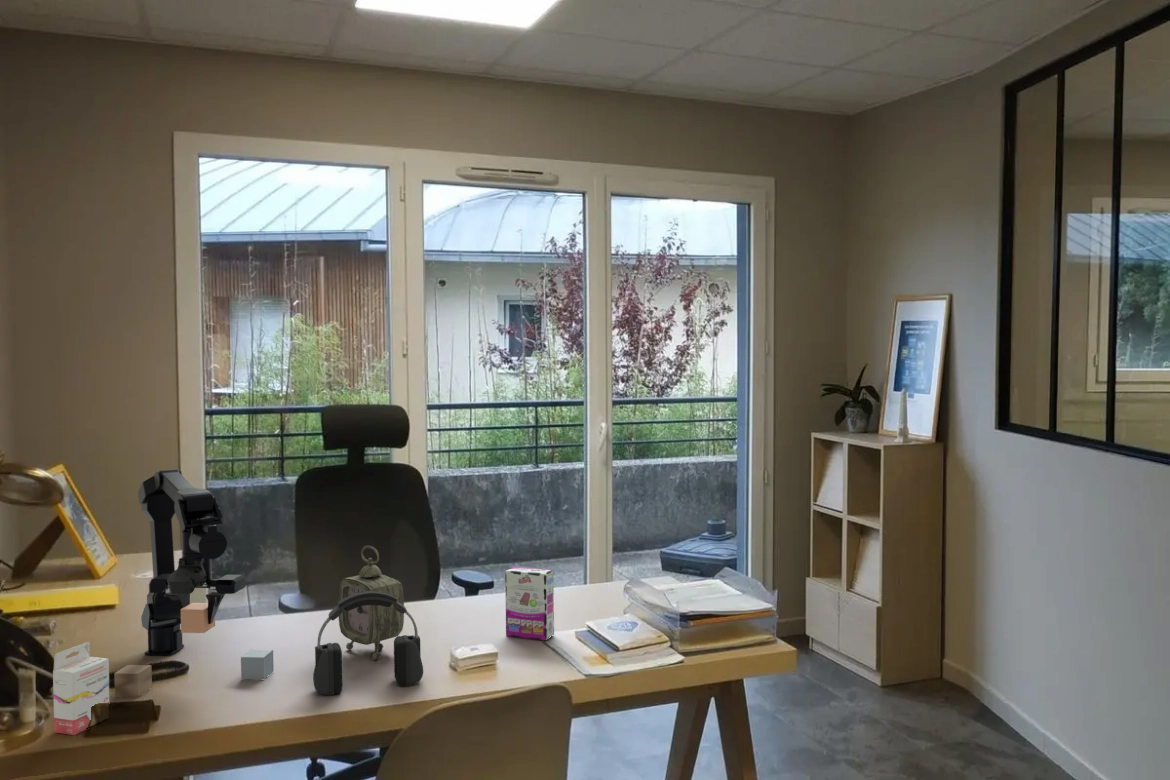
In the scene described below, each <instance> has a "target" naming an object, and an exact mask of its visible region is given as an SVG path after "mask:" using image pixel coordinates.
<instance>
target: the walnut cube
mask: <svg viewBox="0 0 1170 780" xmlns="http://www.w3.org/2000/svg"><path fill="white" fill-rule="evenodd" d="M152 670H153V669H152V664H151V665H149V664H126V665H125V666H124V667H122V668H121V669H119V670H117V671H116V672H114V676H113V677H114V697H115V698H133V697H139V696H140V697H142V696H143V695H145V694H147V693H148V692H149V691H150V690H149V689H150V688H152V689H153V680H152V679H153V677H152V672H153V671H152ZM148 690H149V691H148ZM147 691H148V692H147ZM144 693H145V694H144ZM142 694H143V695H142ZM141 695H142V696H141ZM123 696H124V697H123ZM140 697H139V698H140Z"/></svg>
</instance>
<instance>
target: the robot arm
mask: <svg viewBox="0 0 1170 780" xmlns="http://www.w3.org/2000/svg"><path fill="white" fill-rule="evenodd" d="M137 499H138V502H139V504H140V506H141V508H140V509H141V512H143V514H144V515H145V516H146V518H147V520H149V524H150V525H149V526H150V528H149V529H150V543H151V545H150V546H151V557H152V558H151V559H152V562H151V563H152V577H153V578H151V579H150V580H149V583H148V594H147V595H146V604H145V605H144V606H145V607H144V608H143V611H142V613H141V618H140V621H141V626H142V627H143V629H145V630H146V631H147V650H145V652H144V655H147V656H149V655H150V656H171V655H174V654H175V653H177V652H178V651H180V650H181V649H183V648H184V647H185V644H183V633H181V609H182V608H184V607H186V606H187V605H189V604H191V603H190V602H191V600H190V598H191V597H190V596H191V594H192V593H193V592H194V591H195V589H210V592H209V593H207V594H205V597H206V599H207V603H208V624H211V623H212V622H213V620H214V618H215V619H216V615H217V613H218V609H219V608H220V606H221V603H222V601H223V599H224V597H225V595H231V594H232V595H234V594H236V593H237V592H239V591H241V590H242V589H244V588H246V579H245V577H244V576H243V575H242V574H224V575H223V576H222V577H220V578H214V577H215V571H212V570H213V569H212V560H215V559H217V558H219V557H221V556H223V554H225V551H226V550H227V547H228V540H227V537H226V536H225V535H224V534H223V533H222V532H221V531H218V526H219V525H222V523H223V522H222V519H223V514H222V511H221V508H220V505H219V503H218V501H217V499H216V496H214V495H213V493H212V492H211V491H210V490H207V489H205V488H198V487H197V488H196V487H195V486H194V485H193V484H192V483H191V482H189V481H188V480H187V478H185V476H184V475H182V471H181V469H177V468H171V469H170V468H169V469H167V468H166V469H159V470H158V471H156V472H155V473H154V475H153V476H150V477H149V478H147V479H146V480H144V481H143V482H142V483H141V485H140V487H139V489H138V491H137ZM174 515H175V516H176V518H177V520H178V524H179V525H180V528H181V557H180V558H179V559H178V567H177V569H175V568H176V567H175V555H174V554H175V553H174V538H173V534H174V533H173V520H172V519H173V517H174ZM182 647H183V648H182Z"/></svg>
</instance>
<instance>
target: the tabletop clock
mask: <svg viewBox="0 0 1170 780" xmlns="http://www.w3.org/2000/svg"><path fill="white" fill-rule="evenodd" d="M366 549H370V550H372V551H373V552H374V553H375V555H376V560H375V561H373V558H372V557H369V558H367V559H366V558H365V556H364V551H365V550H366ZM360 556H361V558H362V560H363V562H365V563H366V564H367V565H366V564H365V565H364V566H363V567H362V568H360V570H359V572H358V575H353V576H349V577H343V578H342V579H339V584H338V588H337V589H338V591H337V605H339V601H341V600H342V599H344V598H346V597H348V596H350V595H353V594H355V593H359V592H365V591H379V592H384V593H388V594H390V595H393V596H395V597H396V599H397V601H398V602H400V603H401V604H402V605H403V606H405V599H404V598H405V597H404V588H403V584H402V582H400V580H397V579H395V578H392V577H389V576H387V575H386V574H382V571H381V569H380V568H379V567H378V566H377V564H378V562H379V561H380V555H379V551H378V550H377V549H376V547H374V546H372V545H365V546H362V548H361V551H360ZM404 623H405V613H404V614H402V613H400V612H399V611H397V610H396V609H395V607H394V605H393V604H392V605H391V606H390V607H385V606H380V605H366V606H361V607H357V608H354V609H352V610H349V611H346V610H345V609H343V612H342V613H341V614H340V616H339V617H338V624H339V629H340V633H341V634H342V635H343V636H344V637H345V638H346V639H348V640H350V642H347V643H346V646H345V648H346V649H347V651H350V650H352V649H354V643H357V644H360V645H364V646H365V645H367V646H368V645H371V644H372V645H373V644H374V653H372V655H371V657H372V659H373V660H374V661H378V660H379V659H380V656H381V655H380V654H379V653H378V652H379V651H382V650H383V648H384V644H383V643H381V642H382V641H386V640H389V639H393V638H396V637H397V636H400V634H401V633H402V631H403V628H404Z"/></svg>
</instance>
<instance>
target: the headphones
mask: <svg viewBox="0 0 1170 780" xmlns="http://www.w3.org/2000/svg"><path fill="white" fill-rule="evenodd" d="M392 604H393V605H394V607H395V609H396V610H397V611H399V612H400V613H402V614H404V615H406V616H407V617H409V619H410V620H411V622H412V625H413V630H414V635H407V634H405V635H404V634H403V635H398V636H397V637H394V641H393V667H394V668H393V672H394V674H393V675H394V678H395V682H396V683H397V685H398V686H400V687H408V686H409V687H410V686H411V685H415V684H418V683H419V682H420V681H421V680H422V678H423V675H424V665H423V661H422V658H421V655H422V654H421V637H420V636H419V634H418V626H417V624H416V622H415V619H414V618H413V616H412V615H411V614H410V613H409V611H408V610H407V607H405V605H404V606H403V605H402V604H401V603H400V602H398V601H397V599H396V597H395V596H393V595H390V594H388V593H384V592H379V591H365V592H359V593H355V594H353V595H350V596H348V597H346V598H344V599H342V600H341V601H339V605H338V604H337V605H336V606H334V608H333V609H332V610H331V611H330V612H328V617H327V618H326V620H325V621H324V622H323V623H322V625H321V628H319V631H318V637H317V642H316V643H317V646H314V649H315V650H314V658H315V659H314V662H315V665H314V671H313V674H312V675H313V677H312V678H313V679H312V680H313V687H314V690H315V691H316V692H317V693H318V694H320V695H322V696H323V695H324V696H327V695H329V696H334V695H339V694H340V693H342V691H343V651H342V648H341V645H340V644H339V643H338V642H328V643H324V644H321V640H322V634H323V632H324V631H325V628H326V627H327V625H328V624H329V622H331V621H335V620H336V619H337V618H339V616H340V614H341V613H342V612H343V609H345V610H346V611H349V610H352V609H354V608H357V607H361V606H366V605H380V606H385V607H390V606H391V605H392Z"/></svg>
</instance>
